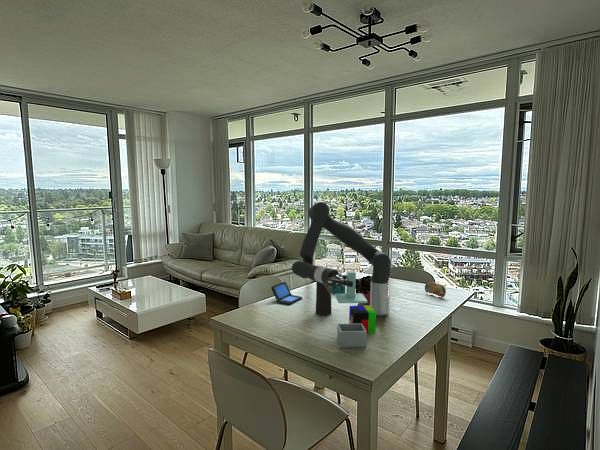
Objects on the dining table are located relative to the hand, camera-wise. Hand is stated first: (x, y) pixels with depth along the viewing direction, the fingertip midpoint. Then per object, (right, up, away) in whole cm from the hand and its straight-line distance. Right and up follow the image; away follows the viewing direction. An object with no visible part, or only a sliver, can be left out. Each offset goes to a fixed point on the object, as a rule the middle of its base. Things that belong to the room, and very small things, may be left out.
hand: (356, 283), depth 143 cm
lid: (-2, -7, +3) cm, 8 cm away
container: (-11, -23, +41) cm, 48 cm away
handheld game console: (-31, -21, +62) cm, 73 cm away
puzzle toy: (+6, -25, +19) cm, 33 cm away
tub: (-1, -27, +4) cm, 27 cm away
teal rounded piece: (-3, -19, +83) cm, 85 cm away
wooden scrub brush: (+62, -21, +73) cm, 98 cm away
